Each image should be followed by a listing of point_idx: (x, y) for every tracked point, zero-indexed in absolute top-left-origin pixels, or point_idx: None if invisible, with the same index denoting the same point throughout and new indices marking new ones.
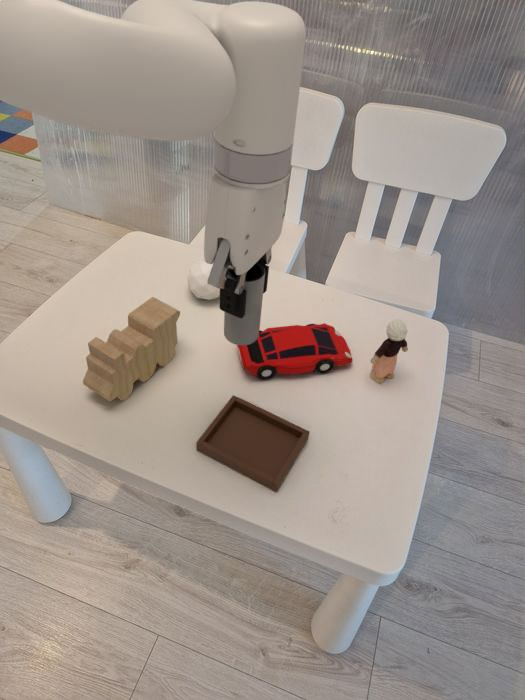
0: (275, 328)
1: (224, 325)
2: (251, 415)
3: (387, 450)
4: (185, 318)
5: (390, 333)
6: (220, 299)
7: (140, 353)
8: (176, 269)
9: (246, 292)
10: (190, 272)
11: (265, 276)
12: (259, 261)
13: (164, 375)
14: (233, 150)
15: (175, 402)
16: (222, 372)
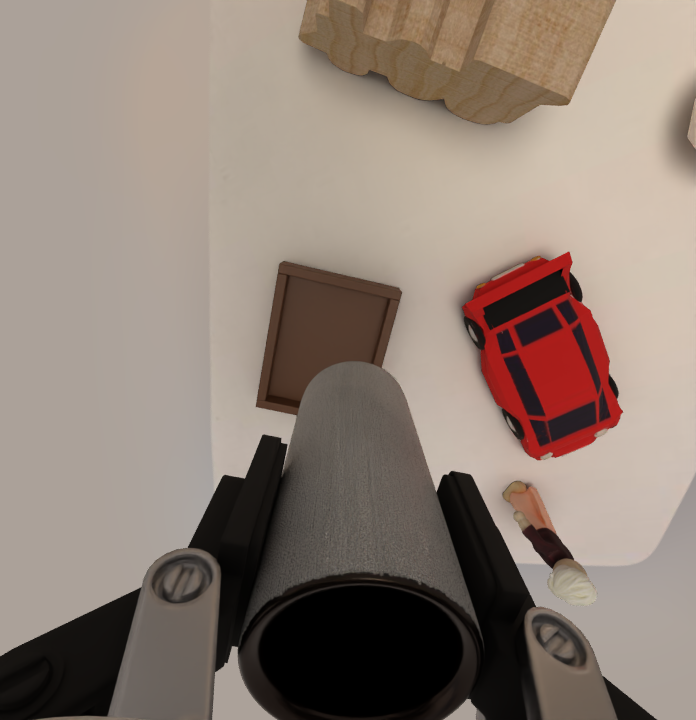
0: (591, 327)
1: (324, 383)
2: (377, 329)
3: None
4: (618, 97)
5: (560, 577)
6: (251, 466)
7: (410, 54)
8: None
9: (230, 649)
10: None
11: None
12: (477, 692)
13: (429, 126)
14: None
15: (369, 181)
16: (467, 244)
